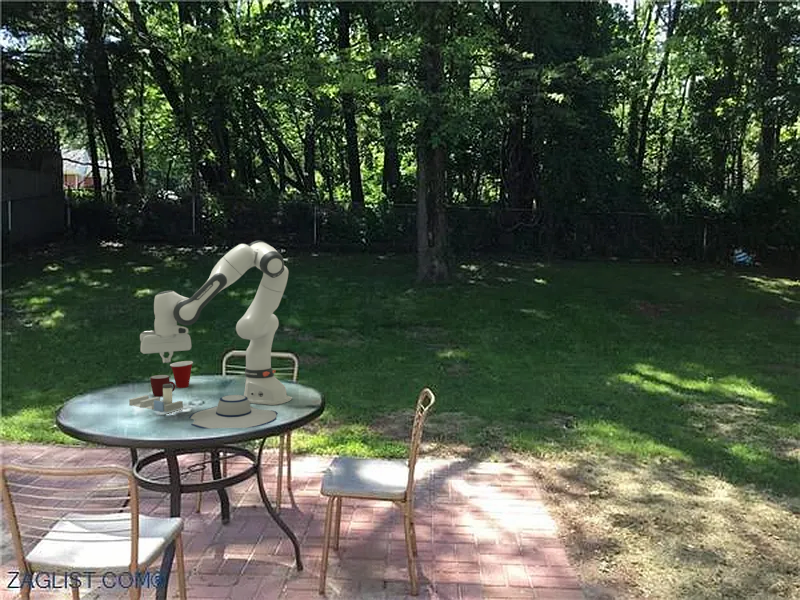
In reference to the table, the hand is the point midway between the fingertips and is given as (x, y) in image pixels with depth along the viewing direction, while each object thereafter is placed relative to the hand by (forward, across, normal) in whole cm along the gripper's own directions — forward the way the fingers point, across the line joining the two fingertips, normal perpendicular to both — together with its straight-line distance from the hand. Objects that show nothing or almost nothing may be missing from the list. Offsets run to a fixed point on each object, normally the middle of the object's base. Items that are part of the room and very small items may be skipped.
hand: (166, 362), depth 291 cm
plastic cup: (+21, +17, +44) cm, 52 cm away
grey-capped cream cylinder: (+20, 0, 0) cm, 20 cm away
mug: (+21, +4, +25) cm, 33 cm away
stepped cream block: (+21, -4, +6) cm, 22 cm away
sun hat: (+22, +21, -23) cm, 38 cm away
